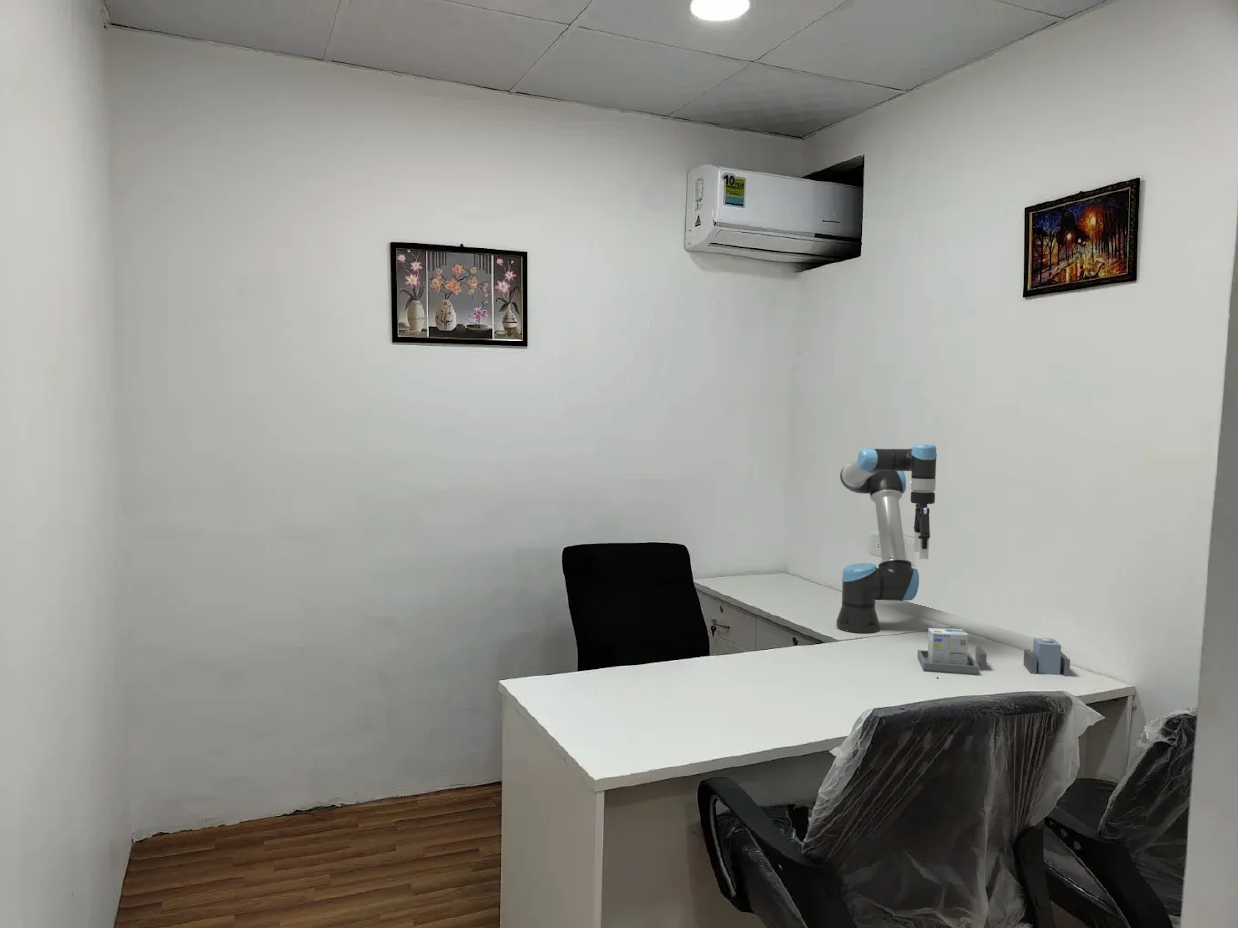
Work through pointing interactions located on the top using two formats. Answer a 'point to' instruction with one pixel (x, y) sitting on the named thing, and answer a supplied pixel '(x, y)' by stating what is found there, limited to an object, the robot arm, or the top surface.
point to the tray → (947, 665)
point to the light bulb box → (947, 646)
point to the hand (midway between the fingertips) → (920, 555)
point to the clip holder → (1029, 661)
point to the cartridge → (1047, 655)
